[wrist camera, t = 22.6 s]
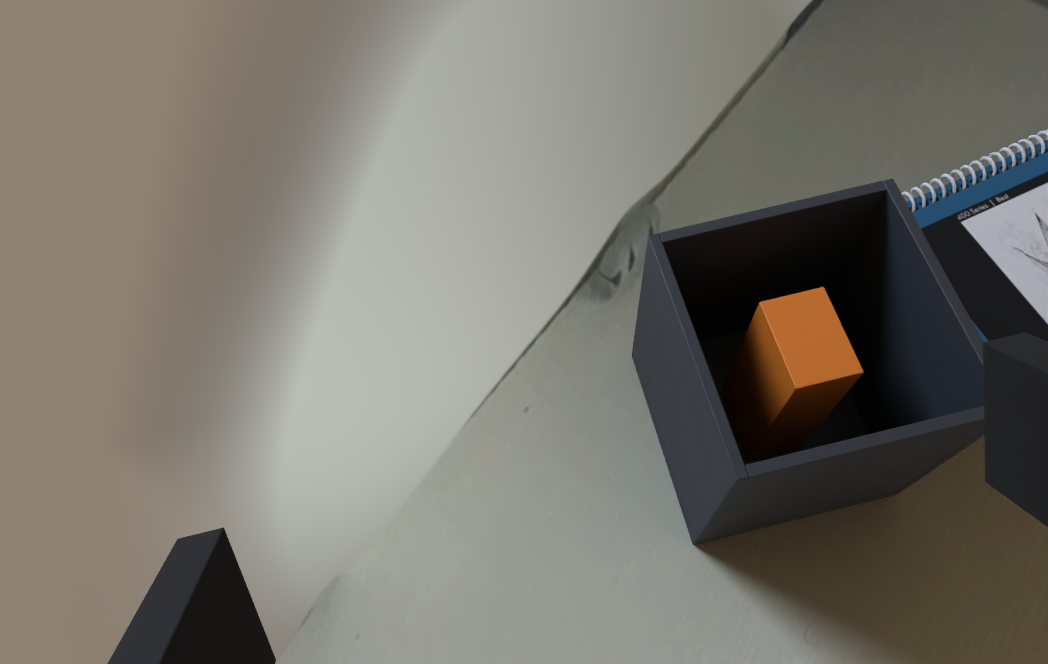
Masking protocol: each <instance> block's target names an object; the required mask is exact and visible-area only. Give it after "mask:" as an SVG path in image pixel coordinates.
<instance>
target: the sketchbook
mask: <svg viewBox="0 0 1048 664" xmlns="http://www.w3.org/2000/svg"><path fill="white" fill-rule="evenodd" d="M1041 134H1046V141H1043V140H1042V138H1041V137H1040V135H1041ZM1031 138H1036V142H1037V145H1035V146H1034V145H1033V144H1032V142H1031V141H1030V140H1031ZM1023 142H1025V143H1026V145H1027V148H1028V149H1026V150H1024V149H1023V148H1022V147H1021V143H1023ZM1012 147H1017V151H1018V153H1017V154H1014V153H1013V152H1012V151H1011V148H1012ZM1003 151H1007V152H1008V156H1009V157H1008V158H1005V159H1004V157H1003V156H1002V152H1003ZM993 155H996V156H998V158H999V162H996V163H994V161H993V160H992V157H993ZM985 159H986V160H988V161H989V165H990V166H987V167H984V166H983V165H982V161H983V160H985ZM974 164H977V165H979V168H980V170H978V171H976V172H974V170H973V165H974ZM964 168H967V169H968V170H969V171H970V174H969V175H967V176H964V175H963V169H964ZM954 173H957V174H959V175H960V179H958V180H956V181H954V179H953V174H954ZM944 177H947V178H948V179H950V182H951V183H949V184H947V185H944V183H943V178H944ZM935 181H936V182H937V183H939V184H940V186H941V187H940V188H938V189H935V190H934V187H933V184H934V182H935ZM924 186H927V187H928V188H929V189H930V191H931V192H929V193H926V194H924V191H923V188H924ZM915 190H916V191H917V192H919V193H920V197H917V198H914V195H913V193H914V191H915ZM901 194H902V196H903V198H904V195H906V196H908V197H909V198H910V200H911V201H908V202H906V203H907V205H908V207H909V209H910V210H911V212H912V214H913V216H914V218H915V219H916V221H917V223H918V225H919V227H920V228H921V230H922V232H923V234H924V236H925V237H926V239H927V241H928V243H929V245H930V246H931V248H932V250H933V252H934V254H935V255H936V257H937V259H938V261H939V263H940V264H941V266H942V268H943V270H944V272H945V273H946V275H947V277H948V279H949V281H950V282H951V284H952V286H953V288H954V290H955V291H956V293H957V295H958V297H959V299H960V300H961V302H962V304H963V306H964V308H965V309H966V311H967V313H968V315H969V317H970V318H971V320H972V322H973V324H974V326H975V327H976V329H977V331H978V333H979V335H980V336H981V338H982V340H983V342H987V341H991V340H995V339H999V338H1003V337H1008V336H1012V335H1016V334H1020V333H1024V332H1026V333H1029V334H1031V335H1034V336H1036V337H1038V338H1041V339H1043V340H1045V341H1048V129H1047V130H1046V131H1040V132H1039V133H1038V134H1037V135H1031V136H1029V137H1028V139H1027V140H1026V139H1022V140H1020V141H1019V142H1018V144H1015V143H1013V144H1011V145H1010V146H1009V147H1008V148H1001V149H1000V150H999V152H992V153H991V154H990V155H989V157H988V156H984V157H982V158H981V159H980V161H972V162H971V163H970V165H963V166H962V167H961V168H960V170H953V171H952V172H951V173H950V175H948V174H943V175H942V176H941V177H940V180H939V179H937V178H934V179H932V180H931V182H930V184H928V183H923V184H921V186H920V189H919V188H918V187H914V188H912V189H911V191H910V194H909V193H908V192H902V193H901Z"/></svg>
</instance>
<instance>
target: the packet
mask: <svg viewBox="0 0 1048 664" xmlns="http://www.w3.org/2000/svg"><path fill="white" fill-rule="evenodd" d="M863 373H864V371H863V369H862V367H861V365H860V363H859V361H858V359H857V356H856V354H855V352H854V350H853V348H852V346H851V344H850V342H849V339H848V337H847V335H846V333H845V331H844V329H843V327H842V324H841V322H840V320H839V318H838V316H837V314H836V312H835V310H834V307H833V305H832V303H831V301H830V299H829V297H828V295H827V292H826V290H825V288H824V287H821V288H816V289H812V290H808V291H804V292H800V293H796V294H791V295H787V296H783V297H779V298H775V299H770V300H766V301H762V302H760V303H759V305H758V307H757V309H756V312H755V314H754V316H753V318H752V321H751V323H750V325H749V328H748V330H747V332H746V334H745V337H744V339H743V341H742V344H741V346H740V348H739V351H738V353H737V355H736V357H735V360H734V362H733V364H732V367H731V369H730V371H729V374H728V376H727V378H726V380H725V383H724V385H723V387H722V390H723V392H724V395H725V398H726V400H727V403H728V406H729V408H730V411H731V414H732V416H733V419H734V422H735V425H736V427H737V430H738V433H739V435H740V438H741V441H742V443H743V446H744V449H745V451H746V454H747V457H748V459H749V460H750V459H754V458H758V457H762V456H766V455H770V454H775V453H779V452H783V451H787V450H791V449H795V448H799V447H802V446H803V444H804V443H805V442H806V441H807V440H808V439H809V437H810V436H811V435H812V434H813V433H814V431H815V430H816V429H817V428H818V427H819V425H820V424H821V423H822V422H823V421H824V419H825V418H826V417H827V416H828V415H829V413H830V412H831V411H832V410H833V409H834V407H835V406H836V405H837V404H838V403H839V401H840V400H841V399H842V398H843V397H844V396H845V394H846V393H847V392H848V391H849V390H850V388H851V387H852V386H853V385H854V384H855V382H856V381H857V380H858V379H859V378H860V376H861V375H862V374H863Z"/></svg>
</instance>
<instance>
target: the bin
mask: <svg viewBox="0 0 1048 664" xmlns="http://www.w3.org/2000/svg"><path fill="white" fill-rule="evenodd" d="M821 287H824V288H825V290H826V292H827V295H828V297H829V299H830V301H831V303H832V305H833V307H834V310H835V312H836V314H837V316H838V318H839V320H840V322H841V324H842V327H843V329H844V331H845V333H846V335H847V337H848V339H849V342H850V344H851V346H852V348H853V350H854V352H855V354H856V356H857V359H858V361H859V363H860V365H861V367H862V369H863V371H864V373H863V374H862V375H861V376H860V378H859V379H858V380H857V381H856V382H855V384H854V385H853V386H852V387H851V388H850V390H849V391H848V392H847V393H846V394H845V396H844V397H843V398H842V399H841V400H840V401H839V403H838V404H837V405H836V406H835V407H834V409H833V410H832V411H831V412H830V413H829V415H828V416H827V417H826V418H825V419H824V421H823V422H822V423H821V424H820V425H819V427H818V428H817V429H816V430H815V431H814V433H813V434H812V435H811V436H810V437H809V439H808V440H807V441H806V442H805V443H804V444H803V446H802V447H799V448H795V449H791V450H787V451H783V452H779V453H775V454H770V455H766V456H762V457H758V458H754V459H750V460H749V459H748V457H747V454H746V451H745V449H744V446H743V443H742V441H741V438H740V435H739V433H738V430H737V427H736V425H735V422H734V419H733V416H732V414H731V411H730V408H729V406H728V403H727V400H726V398H725V395H724V392H723V390H722V387H723V385H724V383H725V380H726V378H727V376H728V374H729V371H730V369H731V367H732V364H733V362H734V360H735V357H736V355H737V353H738V351H739V348H740V346H741V344H742V341H743V339H744V337H745V334H746V332H747V330H748V328H749V325H750V323H751V321H752V318H753V316H754V314H755V312H756V309H757V307H758V305H759V303H760V302H762V301H766V300H770V299H775V298H779V297H783V296H787V295H791V294H796V293H800V292H804V291H808V290H812V289H816V288H821ZM632 358H633V361H634V364H635V367H636V370H637V373H638V376H639V380H640V383H641V386H642V389H643V392H644V395H645V398H646V401H647V404H648V407H649V411H650V414H651V417H652V420H653V423H654V426H655V429H656V432H657V435H658V438H659V441H660V445H661V448H662V451H663V454H664V457H665V460H666V463H667V466H668V469H669V472H670V475H671V479H672V482H673V485H674V488H675V491H676V494H677V497H678V500H679V503H680V506H681V509H682V513H683V516H684V519H685V522H686V525H687V528H688V531H689V534H690V537H691V540H692V544H693V545H696V544H700V543H704V542H708V541H712V540H716V539H720V538H724V537H728V536H732V535H736V534H740V533H744V532H748V531H752V530H756V529H760V528H764V527H768V526H772V525H776V524H780V523H784V522H788V521H792V520H796V519H800V518H804V517H808V516H812V515H816V514H820V513H824V512H828V511H832V510H836V509H840V508H844V507H848V506H852V505H856V504H860V503H864V502H867V501H871V500H875V499H879V498H883V497H887V496H891V495H895V494H898V493H900V492H901V491H903V490H904V489H906V488H907V487H909V486H910V485H912V484H913V483H915V482H916V481H918V480H919V479H921V478H922V477H923V476H925V475H926V474H928V473H929V472H931V471H932V470H934V469H935V468H937V467H938V466H940V465H941V464H943V463H944V462H946V461H947V460H948V459H950V458H951V457H953V456H954V455H956V454H957V453H959V452H960V451H962V450H963V449H965V448H966V447H968V446H969V445H971V444H972V443H973V442H975V441H976V440H978V439H979V438H981V437H982V436H984V435H985V434H984V371H983V340H982V338H981V336H980V335H979V333H978V331H977V329H976V327H975V326H974V324H973V322H972V320H971V318H970V317H969V315H968V313H967V311H966V309H965V308H964V306H963V304H962V302H961V300H960V299H959V297H958V295H957V293H956V291H955V290H954V288H953V286H952V284H951V282H950V281H949V279H948V277H947V275H946V273H945V272H944V270H943V268H942V266H941V264H940V263H939V261H938V259H937V257H936V255H935V254H934V252H933V250H932V248H931V246H930V245H929V243H928V241H927V239H926V237H925V236H924V234H923V232H922V230H921V228H920V227H919V225H918V223H917V221H916V219H915V218H914V216H913V214H912V212H911V210H910V209H909V207H908V205H907V203H906V201H905V200H904V198H903V196H902V194H901V192H900V191H899V189H898V187H897V185H896V183H895V182H894V180H893V179H889V180H885V181H879V182H875V183H871V184H867V185H862V186H858V187H854V188H850V189H845V190H841V191H837V192H832V193H828V194H824V195H820V196H815V197H811V198H807V199H803V200H798V201H794V202H790V203H785V204H781V205H777V206H773V207H768V208H764V209H760V210H756V211H751V212H747V213H743V214H739V215H734V216H730V217H726V218H721V219H717V220H713V221H709V222H704V223H700V224H696V225H692V226H687V227H683V228H679V229H674V230H670V231H666V232H662V233H659V234H654V235H650V236H648V242H647V249H646V256H645V263H644V271H643V278H642V285H641V292H640V299H639V307H638V314H637V321H636V328H635V335H634V343H633V351H632Z"/></svg>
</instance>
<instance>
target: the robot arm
mask: <svg viewBox="0 0 1048 664" xmlns="http://www.w3.org/2000/svg"><path fill="white" fill-rule="evenodd" d="M983 371H984V434H985V482H987V483H988V484H989V485H991V486H992V487H993V488H995V489H996V490H998V491H999V492H1000V493H1002V494H1003V495H1004V496H1006V497H1007V498H1009V499H1010V500H1011V501H1013V502H1014V503H1015V504H1017V505H1018V506H1020V507H1021V508H1022V509H1024V510H1025V511H1027V512H1028V513H1029V514H1031V515H1032V516H1033V517H1035V518H1036V519H1038V520H1039V521H1040V522H1042V523H1043V524H1044V525H1046V526H1047V527H1048V341H1045V340H1043V339H1041V338H1038V337H1036V336H1034V335H1031V334H1029V333H1026V332H1024V333H1020V334H1016V335H1012V336H1008V337H1003V338H999V339H995V340H991V341H987V342H983ZM275 661H276V659H275V656H274V654H273V652H272V649H271V646H270V644H269V641H268V639H267V636H266V634H265V631H264V629H263V626H262V623H261V621H260V618H259V616H258V613H257V611H256V608H255V606H254V603H253V601H252V598H251V596H250V593H249V591H248V588H247V586H246V583H245V580H244V578H243V576H242V573H241V570H240V568H239V565H238V563H237V560H236V557H235V555H234V552H233V550H232V547H231V545H230V543H229V540H228V537H227V535H226V532H225V530H224V528H220V529H216V530H213V531H208V532H204V533H200V534H196V535H192V536H188V537H183V538H180V539H177V541H176V543H175V544H174V546H173V548H172V550H171V552H170V554H169V555H168V557H167V559H166V561H165V562H164V564H163V566H162V568H161V569H160V571H159V573H158V575H157V577H156V578H155V580H154V582H153V584H152V585H151V587H150V589H149V591H148V593H147V594H146V596H145V598H144V600H143V601H142V603H141V605H140V607H139V609H138V611H137V612H136V614H135V616H134V618H133V619H132V621H131V623H130V625H129V627H128V628H127V630H126V632H125V634H124V635H123V637H122V639H121V641H120V643H119V644H118V646H117V648H116V650H115V652H114V653H113V655H112V657H111V659H110V660H109V662H108V664H275Z"/></svg>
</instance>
